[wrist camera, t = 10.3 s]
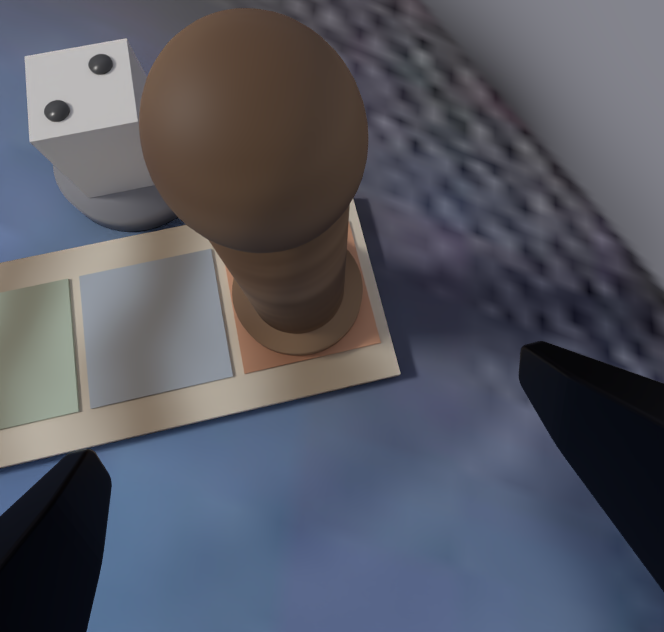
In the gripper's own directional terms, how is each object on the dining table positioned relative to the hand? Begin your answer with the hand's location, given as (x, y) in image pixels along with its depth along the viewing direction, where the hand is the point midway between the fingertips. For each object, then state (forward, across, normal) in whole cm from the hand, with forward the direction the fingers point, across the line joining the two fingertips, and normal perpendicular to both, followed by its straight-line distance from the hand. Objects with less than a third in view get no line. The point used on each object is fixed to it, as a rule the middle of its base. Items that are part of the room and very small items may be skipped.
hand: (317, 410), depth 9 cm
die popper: (+17, +6, -3) cm, 18 cm away
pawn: (+10, 0, +2) cm, 11 cm away
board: (+11, +6, +3) cm, 13 cm away
